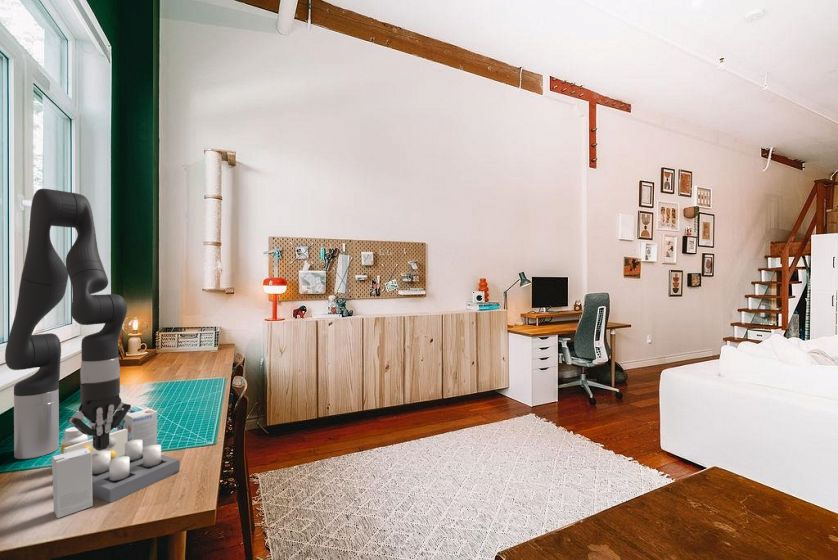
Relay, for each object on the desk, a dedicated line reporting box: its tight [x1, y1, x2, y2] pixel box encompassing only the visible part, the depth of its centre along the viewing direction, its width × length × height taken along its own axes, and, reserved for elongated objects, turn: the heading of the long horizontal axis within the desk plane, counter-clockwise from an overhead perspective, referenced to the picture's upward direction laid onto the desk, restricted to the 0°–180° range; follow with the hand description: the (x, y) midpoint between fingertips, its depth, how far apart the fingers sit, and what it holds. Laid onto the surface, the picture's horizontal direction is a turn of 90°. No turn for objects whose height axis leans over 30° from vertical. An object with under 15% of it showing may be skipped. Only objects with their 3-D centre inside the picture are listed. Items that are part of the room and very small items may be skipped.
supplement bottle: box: [60, 426, 89, 454], centre depth 108 cm, size 5×5×10 cm
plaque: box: [64, 429, 128, 459], centre depth 106 cm, size 1×14×8 cm, turn 155°
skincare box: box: [51, 448, 94, 519], centre depth 87 cm, size 6×4×12 cm
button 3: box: [125, 440, 143, 461], centre depth 106 cm, size 4×4×4 cm
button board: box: [92, 454, 181, 504], centre depth 101 cm, size 16×16×3 cm
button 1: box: [91, 451, 111, 474], centre depth 99 cm, size 4×4×4 cm
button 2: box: [109, 456, 130, 481], centre depth 96 cm, size 4×4×4 cm
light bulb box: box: [116, 404, 158, 448], centre depth 119 cm, size 11×7×11 cm, turn 55°
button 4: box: [143, 444, 162, 467], centre depth 102 cm, size 4×4×4 cm
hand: (101, 449), depth 99 cm, fingers closed
